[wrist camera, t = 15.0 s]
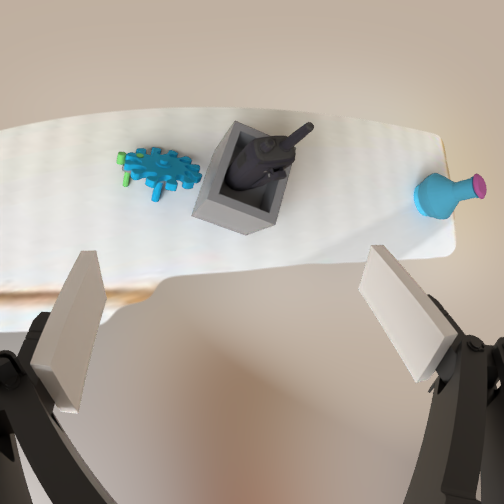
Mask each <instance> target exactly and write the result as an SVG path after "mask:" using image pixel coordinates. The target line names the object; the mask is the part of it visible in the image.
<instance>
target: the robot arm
mask: <svg viewBox="0 0 504 504" xmlns="http://www.w3.org/2000/svg"><path fill="white" fill-rule="evenodd" d="M358 290H359V291H360V293H361V294H362V296H363V297H364V299H365V301H366V302H367V304H368V305H369V307H370V308H371V310H372V312H373V313H374V314H375V316H376V318H377V319H378V321H379V322H380V324H381V326H382V327H383V329H384V331H385V332H386V334H387V335H388V337H389V339H390V340H391V342H392V344H393V345H394V347H395V349H396V350H397V352H398V354H399V355H400V357H401V359H402V360H403V362H404V363H405V365H406V367H407V369H408V370H409V372H410V374H411V376H412V377H413V379H414V381H415V382H416V383H419V382H422V381H425V380H429V379H430V377H431V376H432V374H433V373H434V372H435V370H436V371H437V373H438V375H439V376H438V377H437V379H436V380H435V381H434V383H433V384H432V386H431V387H430V389H429V391H428V392H429V393H430V392H431V391H432V389H433V388H434V392H433V398H432V403H431V408H430V413H429V418H428V422H427V426H426V430H425V434H424V438H423V442H422V446H421V450H420V453H419V457H418V460H417V464H416V467H415V470H414V473H413V476H412V479H411V483H410V485H409V488H408V491H407V494H406V497H405V500H404V503H403V504H504V337H501V338H499V339H498V340H497V342H496V343H495V345H494V346H492V345H485V344H484V343H483V341H481V340H480V339H479V338H477V337H475V336H473V335H465V334H464V333H463V331H462V330H461V329H460V327H459V326H458V325H457V324H456V322H455V321H454V320H453V319H452V318H451V316H450V315H449V314H448V313H447V311H446V310H444V308H443V307H442V305H441V304H440V303H439V302H438V301H437V300H436V299H435V298H433V297H432V296H431V295H427V294H426V293H425V292H424V291H423V290H422V288H421V287H420V286H419V285H418V284H417V282H416V281H415V280H414V279H413V278H412V277H411V276H410V274H409V273H408V272H407V271H406V270H405V269H404V268H403V267H402V265H401V264H400V263H399V262H398V261H397V260H396V259H395V257H394V256H393V255H392V254H391V253H390V252H389V251H388V250H387V249H386V248H385V246H384V245H371V247H370V251H369V254H368V258H367V262H366V265H365V269H364V272H363V275H362V279H361V282H360V285H359V288H358ZM106 300H107V297H106V293H105V289H104V285H103V280H102V276H101V271H100V267H99V262H98V257H97V252H96V251H81V252H80V254H79V256H78V258H77V260H76V262H75V264H74V266H73V268H72V270H71V271H70V273H69V275H68V277H67V279H66V281H65V283H64V285H63V288H62V290H61V292H60V294H59V296H58V298H57V300H56V302H55V304H54V307H53V309H52V311H51V312H41V313H40V314H39V315H38V316H37V317H36V318H35V319H34V320H33V322H32V324H31V326H30V329H29V332H28V333H27V335H26V340H24V342H23V345H22V347H21V349H20V352H19V354H18V356H17V357H16V355H15V354H14V353H13V352H11V351H9V350H3V351H0V504H33V503H32V499H31V496H30V493H29V490H28V487H27V483H26V480H25V476H24V473H23V469H22V465H21V461H20V457H19V453H18V448H17V443H16V438H15V435H16V437H17V439H18V441H19V443H20V446H21V448H22V450H23V452H24V454H25V456H26V457H27V460H28V462H29V463H30V465H31V467H32V469H33V471H34V473H35V474H36V476H37V478H38V480H39V482H40V483H41V485H42V487H43V488H44V490H45V492H46V493H47V495H48V497H49V498H50V500H51V501H52V503H53V504H117V503H116V502H115V501H114V499H113V498H112V497H111V496H110V495H109V493H108V492H107V491H106V490H105V488H104V487H103V486H102V485H101V483H100V482H99V481H98V479H97V478H96V477H95V476H94V474H93V473H92V471H91V470H90V469H89V467H88V466H87V464H86V463H85V462H84V460H83V459H82V457H81V456H80V454H79V453H78V451H77V450H76V448H75V447H74V445H73V444H72V442H71V441H70V439H69V438H68V436H67V434H66V433H65V431H64V430H63V428H62V427H61V425H60V423H59V421H58V420H57V418H56V416H55V415H54V413H53V408H54V404H56V406H57V407H58V409H59V410H60V411H61V412H68V413H77V414H78V413H79V408H80V403H81V398H82V393H83V388H84V384H85V379H86V375H87V370H88V366H89V362H90V358H91V354H92V349H93V346H94V342H95V338H96V335H97V331H98V327H99V324H100V320H101V317H102V313H103V310H104V306H105V303H106ZM499 380H500V382H501V386H500V387H499V388H498V389H497V386H496V384H497V382H498V381H499ZM480 472H481V502H480V501H478V500H476V490H477V485H478V480H479V474H480Z"/></svg>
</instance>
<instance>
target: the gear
mask: <svg viewBox="0 0 504 504" xmlns="http://www.w3.org/2000/svg"><path fill="white" fill-rule="evenodd" d="M160 153H161V149H160V148H155V147H153V148H152V151H151V155H148V154H146V149H144V148H138V149H137V150H136V154H135V153H133V152H130V153H128V154H126V153H125V152H119V153H118V157H117V164H120V165H123V167H122V170H123V171H124V172H125V175H124V180H123V186H124V187H127V186H128V183H129V177H130V176H131V178H132V179H133V180H139V179H142V178H146V183H145V184H146V185H147V186H149V187H151V188H154V190H153V194H152V199H151V200H152V201H154V202H158V201H159V198H160V194H161V190H162V185H163V183H164V182H166V181H167V182H166V186H165V189H166V190H170V191H176V189H177V185H178V183H177V181H176V180H179V181H181V182H183V184H182V187H183V188H184V189H191V188H193V185H194V183H198V182H200V180H201V177H202V174H200V173H199V170H200V166H199V165H196V164H191V162H192V160H191V159H190V158H189V157H187V156H184V157H181V158H177V155H178V153H177V152H175V151H172V150H169V152H168V153H167V154H163V155H161V154H160ZM125 157H126V158H125ZM130 174H131V175H130Z"/></svg>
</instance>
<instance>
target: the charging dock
mask: <svg viewBox="0 0 504 504" xmlns="http://www.w3.org/2000/svg"><path fill="white" fill-rule="evenodd" d="M268 136H269V135H267V134H265V133H262V132H260V131H258V130H256V129H253V128H251V127H249V126H246V125H244V124H242V123H239V122H237V121H235V122H234V123H233V125H232V126H231V127H230V129H229V130H228V132H227V133H226V135H225V136H224V138H223V139H222V141H221V142H220V144H219V145H218V147H217V148H216V150H215V151H214V154H213V156H212V159H211V162H210V165H209V167H208V170H207V173H206V175H205V178H204V181H203V184H202V187H201V190H200V192H199V195H198V198H197V201H196V204H195V207H194V210H193V213H192V216H193V217H196V218H199V219H202V220H204V221H207V222H210V223H213V224H216V225H218V226H221V227H224V228H227V229H230V230H232V231H235V232H238V233H241V234H244V235H248V234H251V233H254V232H257V231H259V230H262V229H265V228H268V227H271V226H273V225H275V224H276V220H277V217H278V213H279V209H280V206H281V202H282V198H283V195H284V191H285V187H286V184H287V180H288V176H289V173H290V169H291V165H292V164H291V165H290V166H289V167H287V168H286V169H284V170H285V171H286V175H287V177H286V178H284V179H281V180H271V181H270V182H268V183H267V184H265V185H263V186H260V187H257V188H254V189H250V190H244V191H235V190H233V189H231V188H230V187H229V186H228V185H227V184H226V182H225V174H226V171H227V169H228V167H229V166H230V165H231V163H232V162H233V160H234V159H235V158H236V157H237V156H238V155H239V153H240V152H241V151H242V150H243V149H244V148H245V147H246V145H247V144H248V143H249V142H251V141H252V140H254V139H256V138H261V137H268ZM294 148H295V147H294ZM295 150H296V148H295Z"/></svg>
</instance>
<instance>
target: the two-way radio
mask: <svg viewBox="0 0 504 504" xmlns="http://www.w3.org/2000/svg"><path fill="white" fill-rule="evenodd" d="M313 128H314V125H313V124H312V123H310V122H308V123H306V124H305V125H303V126H302V127H300V128H299V129H298V130H296V131H295V132H294V133H292V134H291V135H290V136H289V137H287V136H268V137H261V138H256V139H254V140H252V141H251V142H249V143H248V144H247V145H246V147H245V148H244V149H243V150H242V151H241V152H240V153H239V155H238V156H237V157H236V158H235V159H234V160H233V162H232V163H231V165H230V166H229V167H228V169H227V171H226V174H225V182H226V184H227V185H228V186H229V187H230V188H231V189H233V190H235V191H244V190H250V189H254V188H257V187H260V186H263V185H265V184H267V183H268V182H270V181H271V180H281V179H284V178H286V177H287V175H286V171H285V170H284V169H286V168H287V167H289V166H290V165H291V164H292V163H293V162H294V160H295V154H296V153H295V148H294V145H296V144H297V143H298V142H299V141H300V140H302V139H303V138H304V137H305V136H306V135H307V134H308V133H310V132H311V131H312V130H313Z"/></svg>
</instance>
